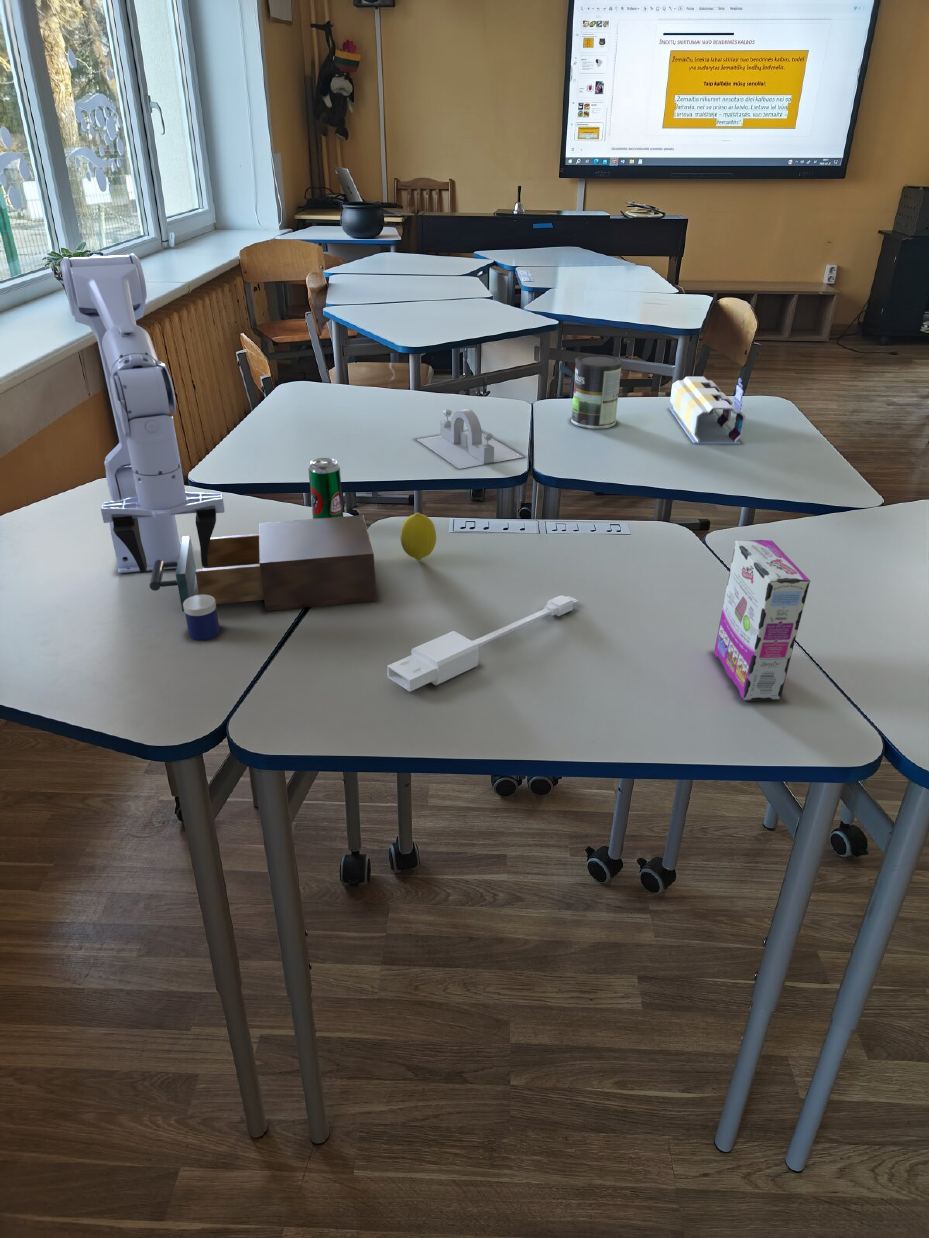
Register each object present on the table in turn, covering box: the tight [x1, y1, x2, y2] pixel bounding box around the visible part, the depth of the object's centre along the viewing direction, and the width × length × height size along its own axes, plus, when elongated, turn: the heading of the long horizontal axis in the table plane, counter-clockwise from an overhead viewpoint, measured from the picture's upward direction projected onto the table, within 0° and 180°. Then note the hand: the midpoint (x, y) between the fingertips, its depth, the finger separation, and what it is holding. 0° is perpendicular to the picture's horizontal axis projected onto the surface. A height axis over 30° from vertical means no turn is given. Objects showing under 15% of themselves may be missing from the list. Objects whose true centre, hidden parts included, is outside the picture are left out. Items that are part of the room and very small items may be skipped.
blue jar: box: [183, 594, 220, 641], centre depth 114 cm, size 4×4×5 cm
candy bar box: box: [713, 539, 811, 702], centre depth 103 cm, size 11×5×16 cm, turn 5°
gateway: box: [439, 408, 496, 465], centre depth 178 cm, size 20×2×8 cm, turn 28°
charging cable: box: [386, 594, 579, 693], centre depth 112 cm, size 5×32×3 cm, turn 133°
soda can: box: [308, 457, 344, 519], centre depth 141 cm, size 5×5×12 cm
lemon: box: [400, 512, 437, 561], centre depth 132 cm, size 6×6×8 cm
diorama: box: [669, 375, 746, 445], centre depth 191 cm, size 25×10×13 cm, turn 0°
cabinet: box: [258, 514, 377, 612], centre depth 125 cm, size 16×14×8 cm
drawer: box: [149, 533, 264, 612], centre depth 123 cm, size 19×12×6 cm, turn 102°
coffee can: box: [570, 353, 623, 430], centre depth 193 cm, size 10×10×14 cm
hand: (174, 566), depth 112 cm, fingers open, 7 cm apart
